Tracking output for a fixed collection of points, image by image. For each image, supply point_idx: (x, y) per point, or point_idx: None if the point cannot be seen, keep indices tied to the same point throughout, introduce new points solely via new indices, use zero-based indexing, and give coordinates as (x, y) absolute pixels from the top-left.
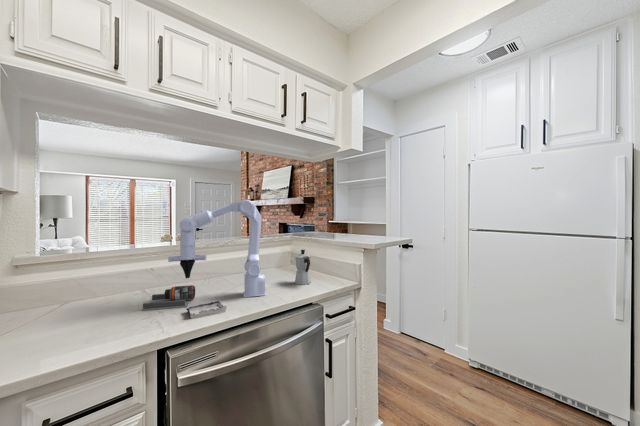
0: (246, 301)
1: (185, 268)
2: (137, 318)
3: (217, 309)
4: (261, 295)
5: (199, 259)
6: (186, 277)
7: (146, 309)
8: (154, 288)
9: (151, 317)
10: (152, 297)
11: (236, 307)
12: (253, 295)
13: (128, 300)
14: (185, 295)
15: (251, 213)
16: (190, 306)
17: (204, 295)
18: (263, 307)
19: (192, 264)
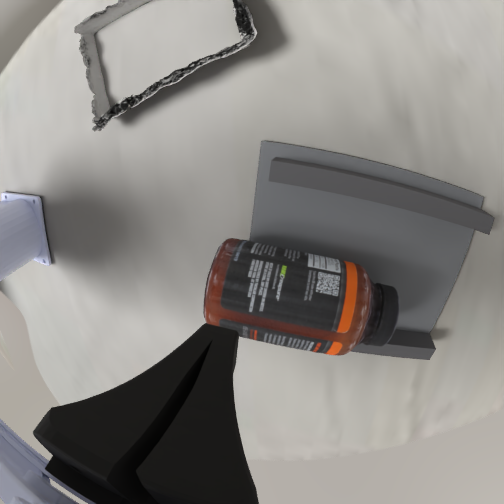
0: (33, 146)
1: (193, 413)
2: (485, 92)
3: (109, 10)
4: (7, 193)
5: (7, 437)
6: (226, 332)
7: (468, 192)
8: (381, 444)
9: (433, 63)
10: (430, 341)
11: (59, 79)
12: (19, 196)
13: (483, 362)
14: (269, 247)
15: None
16: (230, 54)
17: (188, 307)
18: (11, 75)
19: (59, 406)
